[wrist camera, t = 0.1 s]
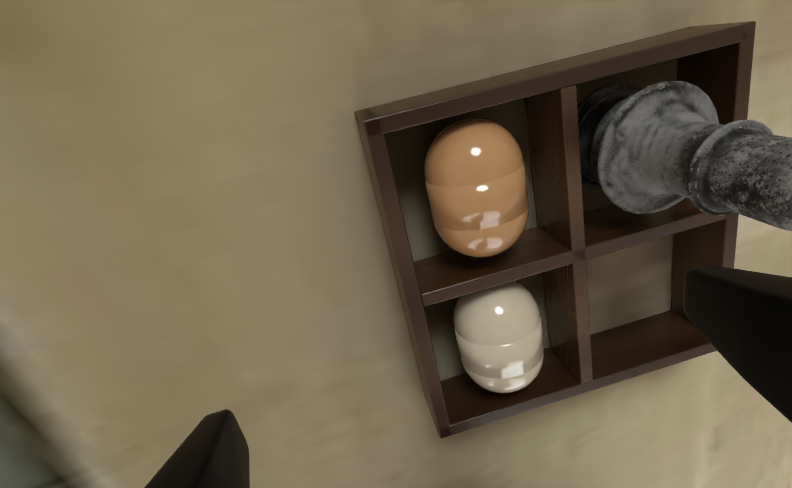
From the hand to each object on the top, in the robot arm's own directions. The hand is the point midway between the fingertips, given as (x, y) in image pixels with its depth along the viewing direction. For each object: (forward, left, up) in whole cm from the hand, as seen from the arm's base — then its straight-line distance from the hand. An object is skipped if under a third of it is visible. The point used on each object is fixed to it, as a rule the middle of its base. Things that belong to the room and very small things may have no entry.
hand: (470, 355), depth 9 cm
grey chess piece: (-1, -13, -15) cm, 19 cm away
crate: (-5, -9, -15) cm, 18 cm away
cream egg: (-9, -4, -15) cm, 18 cm away
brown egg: (-1, -4, -15) cm, 15 cm away
